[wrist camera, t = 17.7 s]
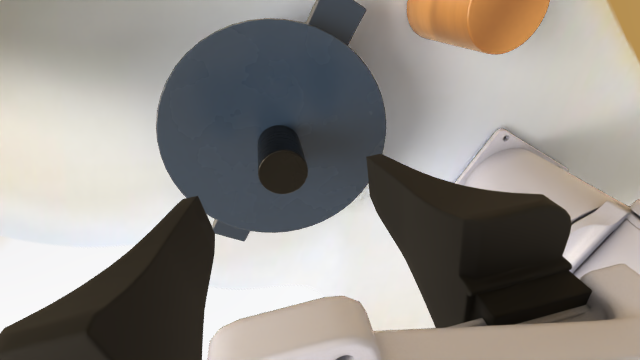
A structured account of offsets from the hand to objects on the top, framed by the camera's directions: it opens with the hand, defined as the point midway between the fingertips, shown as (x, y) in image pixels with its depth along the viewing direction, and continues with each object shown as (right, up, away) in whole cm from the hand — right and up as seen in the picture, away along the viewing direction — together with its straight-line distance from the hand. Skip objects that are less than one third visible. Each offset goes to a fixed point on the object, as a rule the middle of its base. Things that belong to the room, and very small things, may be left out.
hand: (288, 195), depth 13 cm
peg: (+9, +12, +6) cm, 16 cm away
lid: (-1, +3, +5) cm, 6 cm away
